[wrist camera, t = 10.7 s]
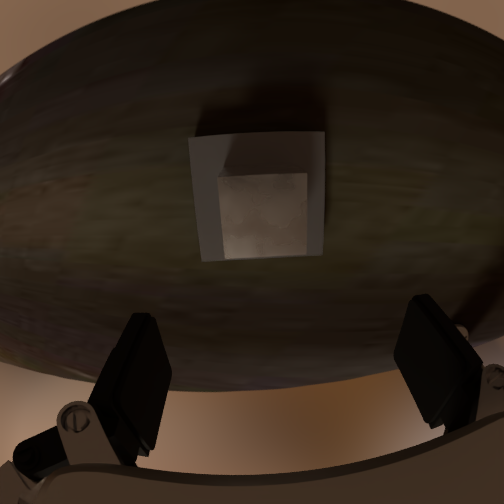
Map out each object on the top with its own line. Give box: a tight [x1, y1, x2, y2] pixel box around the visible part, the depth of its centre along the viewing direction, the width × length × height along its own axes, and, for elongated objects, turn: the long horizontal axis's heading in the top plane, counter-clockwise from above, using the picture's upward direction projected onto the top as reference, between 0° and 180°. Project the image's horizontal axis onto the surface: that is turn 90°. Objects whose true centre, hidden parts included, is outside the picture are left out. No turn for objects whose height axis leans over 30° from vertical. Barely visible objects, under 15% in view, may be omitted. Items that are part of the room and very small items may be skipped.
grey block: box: [188, 131, 325, 262], centre depth 27 cm, size 13×13×7 cm
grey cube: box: [217, 164, 307, 259], centre depth 25 cm, size 7×7×6 cm
